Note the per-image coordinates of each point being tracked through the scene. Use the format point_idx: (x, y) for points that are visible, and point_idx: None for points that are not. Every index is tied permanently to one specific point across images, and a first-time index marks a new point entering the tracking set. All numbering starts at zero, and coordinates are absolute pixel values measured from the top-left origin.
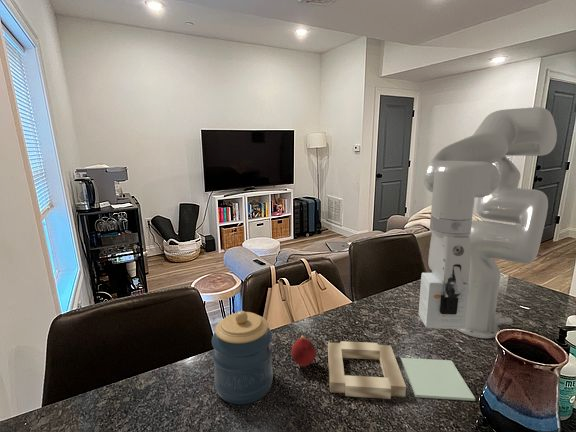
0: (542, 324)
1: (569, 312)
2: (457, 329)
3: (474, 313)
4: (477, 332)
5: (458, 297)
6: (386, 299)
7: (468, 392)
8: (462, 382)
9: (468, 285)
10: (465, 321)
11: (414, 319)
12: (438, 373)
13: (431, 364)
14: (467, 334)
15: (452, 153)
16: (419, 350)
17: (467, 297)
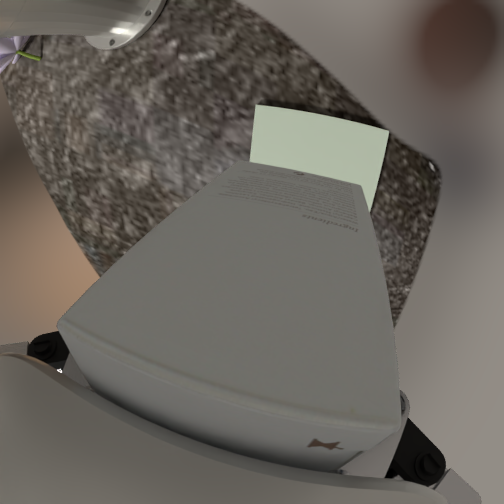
0: None
1: None
2: (134, 40)
3: (111, 2)
4: (152, 1)
5: (402, 397)
6: (48, 165)
7: (370, 133)
8: (338, 125)
9: (398, 415)
10: (364, 198)
11: (99, 126)
12: (303, 163)
13: (269, 163)
14: (152, 23)
15: None
16: (209, 160)
17: (388, 299)
